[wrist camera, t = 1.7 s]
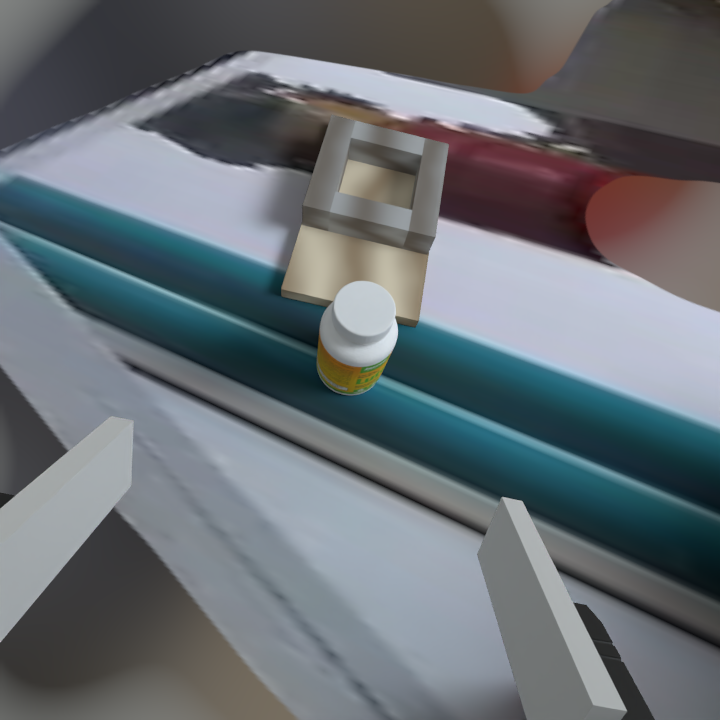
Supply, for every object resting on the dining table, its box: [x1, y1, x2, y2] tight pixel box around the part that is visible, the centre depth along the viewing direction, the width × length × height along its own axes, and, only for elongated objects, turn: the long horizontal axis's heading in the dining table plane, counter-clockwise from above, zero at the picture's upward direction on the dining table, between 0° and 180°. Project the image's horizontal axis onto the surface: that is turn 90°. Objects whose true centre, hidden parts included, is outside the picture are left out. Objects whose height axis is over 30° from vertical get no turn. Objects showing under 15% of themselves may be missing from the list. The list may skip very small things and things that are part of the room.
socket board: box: [281, 115, 449, 327], centre depth 40 cm, size 12×22×4 cm, turn 169°
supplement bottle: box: [317, 281, 398, 395], centre depth 31 cm, size 5×5×10 cm
